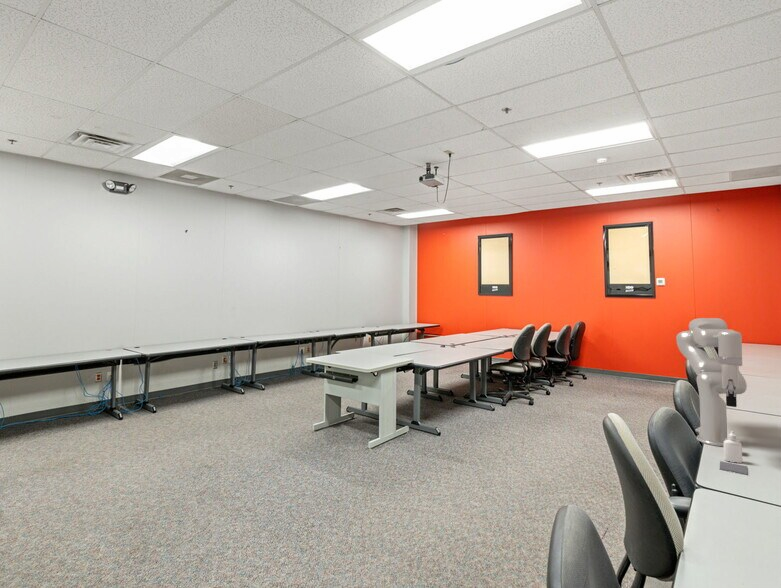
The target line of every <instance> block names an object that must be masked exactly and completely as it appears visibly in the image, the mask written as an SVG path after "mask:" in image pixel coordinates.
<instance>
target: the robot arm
mask: <svg viewBox="0 0 781 588" xmlns="http://www.w3.org/2000/svg"><path fill="white" fill-rule="evenodd" d="M675 338H676V340H675V341H676V345H677V348H678V350H679V352H680V354H682V355H683V357H684V358H685V359H687V361H688V363H689V364H690V366H691V368H692V370H693V372H694V373H695V374H696V384H697V388H698V389H697V390H698V398H699V417H700V419H699V420H700V421H699V422H700V423H699V424H700V425H699V426H698V427H697V428H695V432H697V433H698V435H696V440H697V441H698V442H701V443H703V444H706V445H710V446H716V447H724V441H725V438H726V439H728V421H727V420H728V418H727V407H733V408H737V407H738V405H737V401H738V400H737V395H742V394H744V393H745V392H746V391H747V387H748V385H747V382H746V379H745V377H744V375H743V374H742V372H741V371H740V370H739V367H743V344H742V342H743V341H742V340H743V338H742V333H741V332H739V331H735V330H734V329H728V325H727V323H726V321H725V320H723V319H722V318H719V317H710V318H709V317H698V318H694V319H692V320H690V321H689V323H688V330H683V331H681V332H679V333H677V334H676V337H675ZM702 348H717V349H718V358H714V357H710V356H709V354H708V353H707V352H706V351H705V350H703V349H702ZM721 394H722V395H723V394H724V395H726V396H725V400H724V399H723V398H722V397H721V396H720V395H721Z"/></svg>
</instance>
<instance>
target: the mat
mask: <svg viewBox="0 0 781 588" xmlns="http://www.w3.org/2000/svg"><path fill="white" fill-rule="evenodd" d="M720 469H723V470H722V471H724V470H727V471H726V472H729V471H731V472H730V473H734V472H735V473H736V474H740V475H745V476H748V466H747V465H742V464H739V463H733V462H727V461H722V460H721V461H719V470H720Z"/></svg>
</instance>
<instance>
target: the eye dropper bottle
mask: <svg viewBox="0 0 781 588" xmlns="http://www.w3.org/2000/svg"><path fill="white" fill-rule="evenodd" d="M727 438H728V439H729V440H725V441H724V446H723V461H725V460H726V461H725V462H727V461H730V462H729V463H733V462H737V463H736V464H742V463H743V445H742V443H741V441H740V442H738V441H739V440H738V441H736V440H737V435H736V433H734V431H733V430H730V433H727Z"/></svg>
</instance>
